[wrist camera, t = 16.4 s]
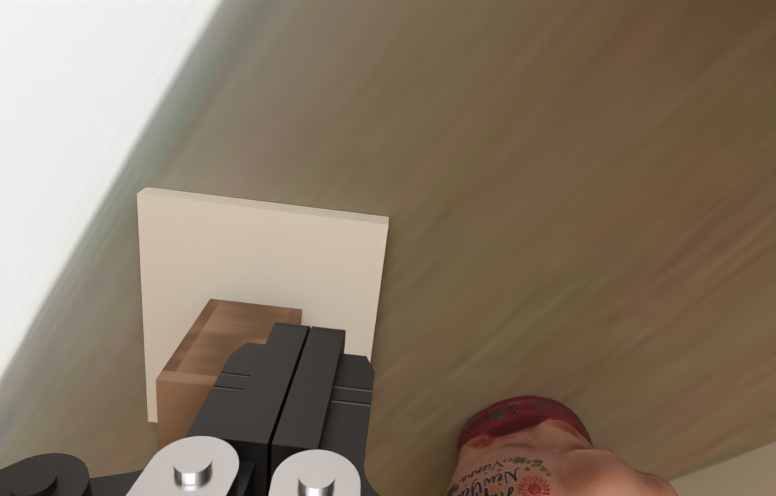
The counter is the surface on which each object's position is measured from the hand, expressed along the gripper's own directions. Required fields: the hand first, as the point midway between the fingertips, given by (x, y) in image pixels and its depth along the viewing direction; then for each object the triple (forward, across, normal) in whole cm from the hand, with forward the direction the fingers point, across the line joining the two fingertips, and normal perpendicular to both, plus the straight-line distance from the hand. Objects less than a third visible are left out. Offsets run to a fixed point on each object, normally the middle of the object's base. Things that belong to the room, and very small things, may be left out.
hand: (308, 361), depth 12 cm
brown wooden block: (+21, +7, +14) cm, 27 cm away
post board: (+24, +7, +14) cm, 29 cm away
